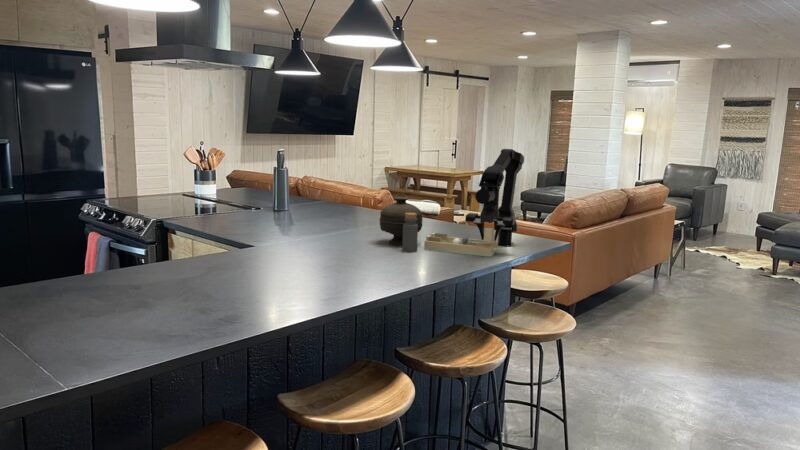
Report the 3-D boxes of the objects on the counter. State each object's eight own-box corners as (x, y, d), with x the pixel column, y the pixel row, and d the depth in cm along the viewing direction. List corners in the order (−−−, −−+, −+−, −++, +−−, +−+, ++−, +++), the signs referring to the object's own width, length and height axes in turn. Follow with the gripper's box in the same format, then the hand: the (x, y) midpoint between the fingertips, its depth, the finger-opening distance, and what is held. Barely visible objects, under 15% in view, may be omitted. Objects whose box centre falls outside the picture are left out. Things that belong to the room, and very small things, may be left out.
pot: (370, 243, 237) (374, 195, 235) (387, 240, 254) (391, 194, 252) (411, 249, 231) (415, 199, 229) (426, 245, 248) (430, 199, 246)
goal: (433, 241, 244) (433, 232, 244) (446, 243, 242) (447, 233, 242) (425, 246, 235) (426, 236, 234) (440, 247, 233) (440, 238, 232)
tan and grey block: (465, 245, 237) (466, 225, 236) (493, 248, 233) (494, 228, 232) (462, 248, 233) (463, 227, 231) (490, 251, 229) (492, 230, 227)
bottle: (415, 252, 227) (417, 215, 224) (400, 251, 228) (402, 214, 225) (418, 249, 233) (419, 212, 230) (403, 248, 234) (405, 211, 231)
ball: (453, 245, 238) (453, 237, 238) (461, 246, 237) (462, 237, 236) (451, 247, 235) (451, 238, 234) (459, 248, 234) (460, 239, 233)
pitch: (434, 243, 246) (434, 235, 246) (497, 250, 237) (498, 241, 237) (424, 249, 233) (424, 241, 233) (490, 256, 224) (491, 248, 224)
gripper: (463, 201, 224) (460, 241, 227) (511, 205, 218) (508, 246, 220) (469, 198, 234) (467, 236, 237) (516, 202, 228) (513, 241, 231)
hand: (488, 240), depth 231 cm, fingers open, 5 cm apart
